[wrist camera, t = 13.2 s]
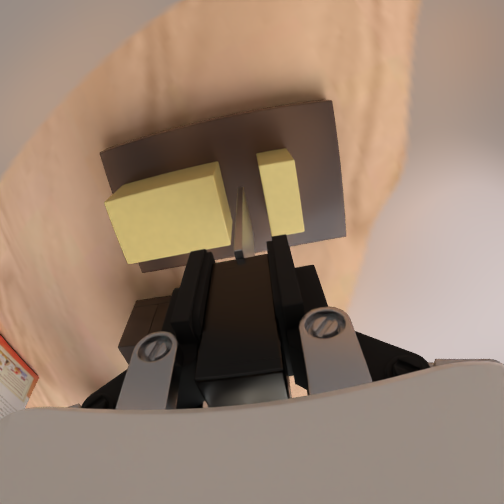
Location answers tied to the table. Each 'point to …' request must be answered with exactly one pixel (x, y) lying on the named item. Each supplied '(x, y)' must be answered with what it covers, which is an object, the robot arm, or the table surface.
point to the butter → (171, 214)
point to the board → (247, 167)
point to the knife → (241, 328)
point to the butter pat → (281, 192)
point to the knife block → (143, 323)
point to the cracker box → (14, 381)
